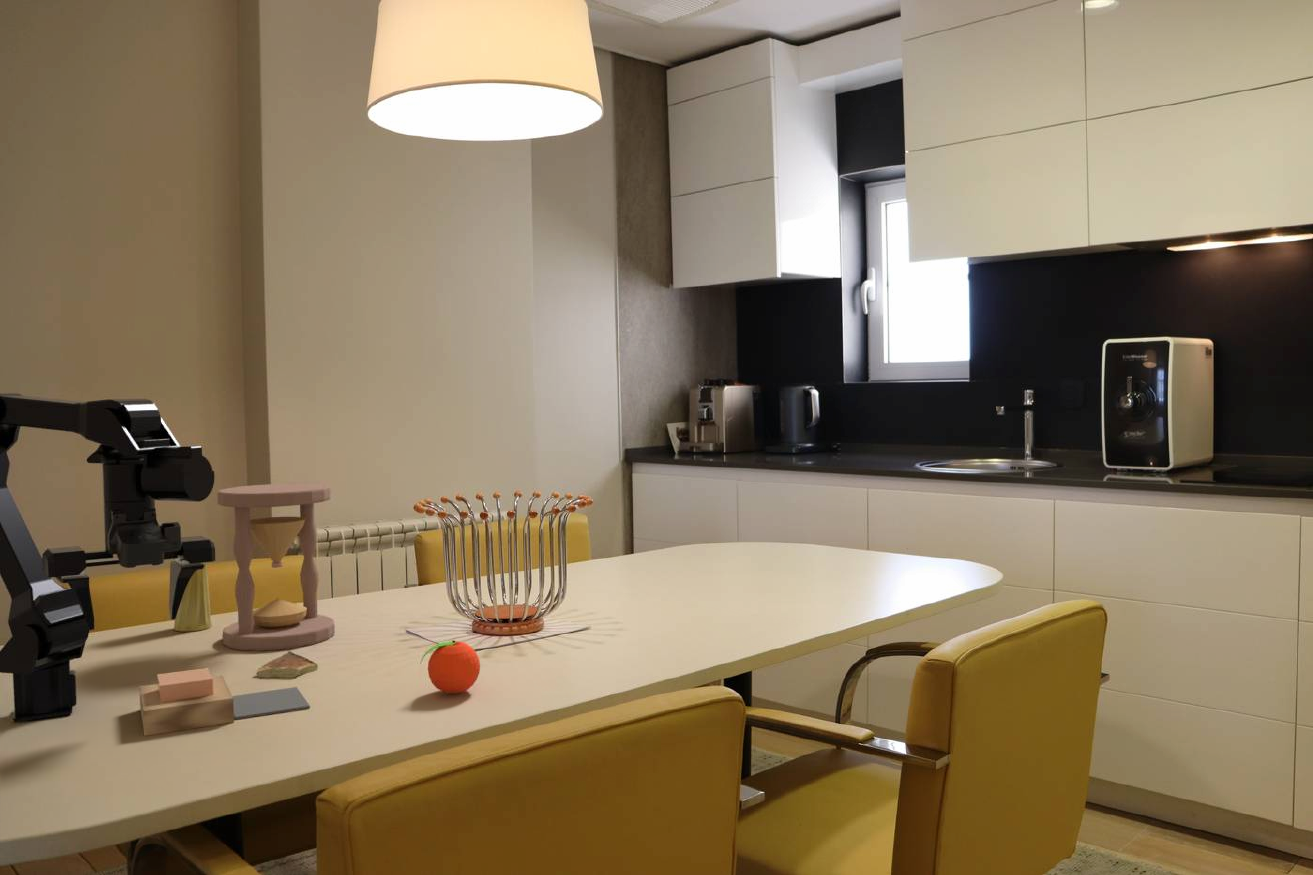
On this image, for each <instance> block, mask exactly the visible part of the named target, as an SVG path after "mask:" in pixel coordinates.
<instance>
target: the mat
mask: <svg viewBox="0 0 1313 875" xmlns="http://www.w3.org/2000/svg"><path fill="white" fill-rule="evenodd" d="M232 697H233V707H234V720H241V719H246V718H247V719H248V718H254V717H261V716H268V715H273V714H279V713H287V712H294V711H299V710H306V709H310V708H311V705H310V703H309V702H308V701H307V699H306V698H305V696H304V695H303V694H302V692H301V691H300V690H299V688H298V687H297V686H294V687H288V688H279V689H274V690H266V691H259V692H254V693H253V692H251V693H245V694H238V695H237V694H236V695H232Z"/></svg>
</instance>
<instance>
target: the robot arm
mask: <svg viewBox="0 0 1313 875" xmlns="http://www.w3.org/2000/svg"><path fill="white" fill-rule="evenodd" d="M21 427H25V428H27V427H28V428H34V429H42V430H53V431H63V432H69V433H70V432H71V433H75V434H77V435H80V436H81V437H82V438H84V439H85V440H87V441H89V442H93V443H96V444H99V446H98V447H97V449H96V450H95V451H94V452H92V453H91V454H90V455H88V457H87V458H86V462H87V463H88V464H102V465H101V466H102V468H101V469H102V495H103V523H104V524H103V527H104V528H103V530H104V533H103V534H104V550H96V551H85V550H84V549H83V548H82V547H81V546H79V545H77V546H76V545H75V546H65V547H53V548H46V550H45V551H44V552H43V553H42V555H41V553H40V552H39V549H38V547H37V545H36V543H35V541H34V539H33V537H32V535H31V533H30V531H29V529H28V526H27V524H26V523H25V520H24V518H23V517H22V513H21V512H20V510H19V508H18V506H17V504H16V502H15V500H14V498H13V495H12V494H11V493H12V492H10V490H9V487H8V477H9V472H10V471H9V470H10V468H11V467H10V466H11V463H10V459H9V455H8V453H7V452H8V451H9V450H11V448H12V447H14V445H15V444H16V443H17V441H18V440H19V434H20V430H21ZM214 484H215V471H214V470H213V466H212V464H211V463H210V461H209V459H208V458H207V457H205V455H203V447H202V446H201V445H186V446H185V445H184V446H181V445H180V443H179V442H178V440H177V439H176V437H175V436H174V434H173V433H172V431H171V430H170V428H169V426H168V425H167V424H166V422H165V421H164V419H163V418H162V416H161V414H160V411H159V408H158V407H157V406H156V403H155V402H154V401H152V400H151V399H147V398H121V399H120V398H117V399H116V398H114V399H113V398H109V399H99V400H89V401H76V400H67V399H59V398H48V397H40V396H39V397H38V396H30V395H29V396H28V395H23V394H22V393H17V392H14V393H13V392H12V393H11V392H10V393H9V392H1V393H0V577H1V579H2V582H3V583H4V585H5V588H6V589H7V591H8V594H9V595H10V599H11V600H10V606H9V607H10V608H9V614H8V618H7V624H8V626H9V629H10V630H9V631H10V634H11V637H10V638H9V639H8V641H7V642H6V643H5V644H4V646H3V647H2V648H1V649H0V673H1V674H3V673H4V674H12V683H13V684H12V685H13V686H12V689H13V705H14V706H13V707H14V709H13V710H14V712H13V715H12V716H13V717H12V722H14V723H17V722H24V721H32V720H38V719H39V720H40V719H45V718H46V719H47V718H53V717H59V716H66V715H71V714H73V709H74V708H73V707H76V706H77V702H78V701H77V700H78V698H77V678H76V677H77V675H76V671H75V670H74V669H72V670H71V662H70V661H72V660H76V659H81V658H82V657H83V654H84V649H85V645H86V642H87V640H88V638H89V633H90V631H94V630H95V614H94V608H93V602H92V596H91V588H90V577H89V575H88V574H86V573H85V571H86V568H90V567H100V566H101V567H102V566H111V565H120V566H121V567H122V568H126V569H127V568H128V569H130V568H133V569H134V568H136V567H139V566H147V565H148V566H150V565H151V566H160V565H162V564H164V562H165V560H171V561H170V563H169V590H168V591H169V593H168V594H169V596H168V609H169V610H168V612H169V618H170V620H171V621H175V618H176V615H177V612H178V609H179V606H180V603H181V600H182V597H183V594H184V591H185V589H186V587H187V584H188V582H189V580H190V578H191V577H192V575H193V574H194V573H195V572H196V570H199V569H204V566H205V565H204V564H202V563H204V562H207V563H212V562H215V561H216V547H215V543H214V542H213V541H212V540H211V539H209V538H207V537H205V536H202V535H194V536H184V537H183V536H182V532H181V531H182V530H181V525H180V523H179V522H178V521H174V522H162V523H161V525H159V522H158V520H157V519H158V518H157V512H156V511H157V510H156V509H157V508H156V501H163V502H165V501H167V502H194V503H195V502H196V503H197V502H202V501H205V500H206V499H207V498H208V497H209V496H210V494H211V493H212V491H213V487H214ZM114 555H116V556H114ZM174 559H175V561H174ZM172 560H173V561H172ZM53 578H55V579H56V580H58V582H59V583H60V584H68V586H69V587H66V588H63V587H62V586H60V585H59V584H57V583H56V582H55V581H54V580H53Z"/></svg>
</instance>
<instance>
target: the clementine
mask: <svg viewBox="0 0 1313 875" xmlns="http://www.w3.org/2000/svg"><path fill="white" fill-rule="evenodd" d="M434 649H435V650H434ZM433 650H434V651H433ZM431 651H433V652H432V654H431V655H430V657H429V659H428V662H427V671H428V672H427V673H428V677H429V680H430V682H431V684H432V685H433V686H434V687H435V688H436V689H438V690H439V691H441V692H442V693H445V694H449V695H450V694H452V695H457V694H461V693H464V692H466V691H467V690H469V689H470V688H472V686H473V685H474V684H475V683H476V682H477V680H478V678H479V675H480V672H481V663H480V659H479V656H478V653H477V652H476V650H475V649H474V648H473V647H472V646H471V645H469V644H467V643H465V642H463V641H457V640H455V639H454V640H452V641H447V642H442V643H437V644H436V645H433V646H432V647H431V648H429V649H428V650H427V651H426V652H425V653H424V655H422V658H421V660H420V664H419V665H421V664H422V662H423V659H424V658H425V657H426V656H427V654H428V653H430V652H431Z"/></svg>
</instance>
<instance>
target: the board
mask: <svg viewBox="0 0 1313 875" xmlns="http://www.w3.org/2000/svg"><path fill="white" fill-rule="evenodd" d="M212 678H213V695H206V696H199V697H192V698H185V699H178V700H171V701H164V702H160V697H159V693H158V683H155V684H150V685H143V686H142V685H141V686H139V707H140V716H141V722H142V728H143V735H144V737H146V736H151V735H159V734H165V733H172V732H177V731H184V730H190V729H197V728H204V727H209V726H216V725H223V724H230V723H234V722H235V718H234V707H233V697H232V696H233V695H232V693H231V691H230V688H229V686H228V684H227V682H226V680H225V678H224V676H223V675H217V676H212Z"/></svg>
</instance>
